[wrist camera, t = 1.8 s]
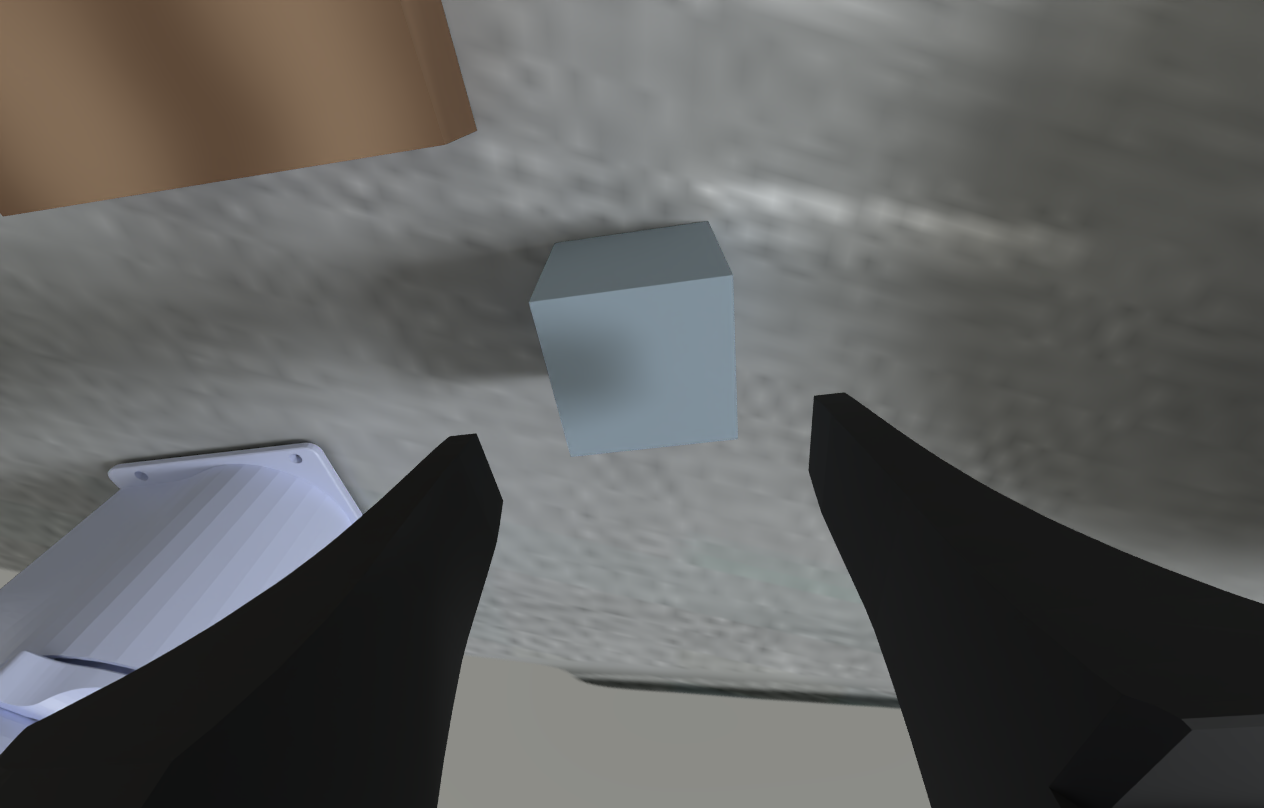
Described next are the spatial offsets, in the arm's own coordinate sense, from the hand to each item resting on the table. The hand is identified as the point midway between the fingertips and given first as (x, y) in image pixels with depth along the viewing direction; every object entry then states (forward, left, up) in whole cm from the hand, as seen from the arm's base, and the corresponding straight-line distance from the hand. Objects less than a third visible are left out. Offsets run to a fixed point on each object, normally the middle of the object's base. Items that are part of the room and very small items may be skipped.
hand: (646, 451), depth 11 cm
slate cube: (0, 0, -8) cm, 8 cm away
